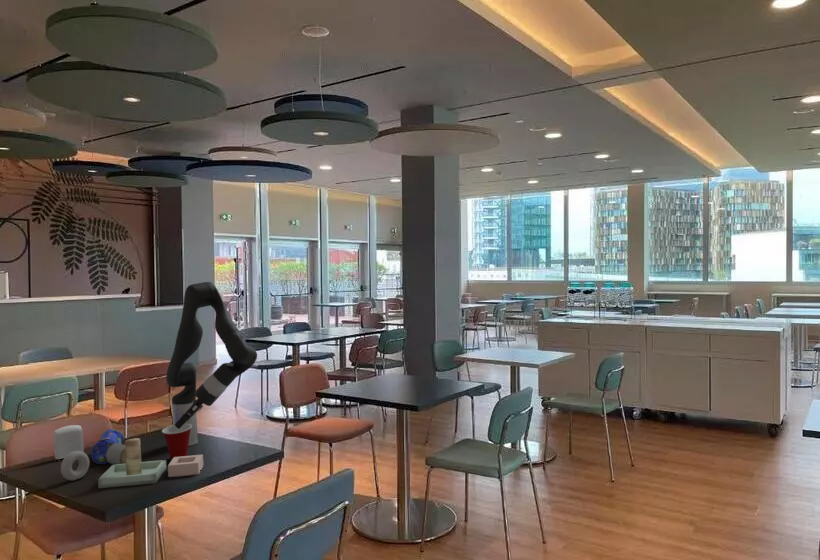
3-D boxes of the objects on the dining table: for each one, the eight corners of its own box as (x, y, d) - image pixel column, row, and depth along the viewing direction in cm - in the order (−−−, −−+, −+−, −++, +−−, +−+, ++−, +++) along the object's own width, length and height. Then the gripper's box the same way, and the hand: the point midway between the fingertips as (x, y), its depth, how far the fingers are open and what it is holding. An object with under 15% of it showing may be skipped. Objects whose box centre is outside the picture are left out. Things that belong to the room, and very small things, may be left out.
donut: (85, 474, 217) (84, 446, 217) (92, 475, 216) (90, 447, 215) (59, 484, 208) (57, 454, 208) (65, 485, 207) (64, 455, 206)
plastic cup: (156, 461, 230) (155, 429, 229) (179, 453, 239) (178, 422, 239) (177, 464, 225) (175, 432, 224) (199, 456, 234) (198, 424, 234)
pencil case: (115, 464, 229) (114, 438, 229) (90, 467, 226) (89, 441, 226) (124, 448, 250) (123, 425, 250) (101, 451, 247) (100, 427, 247)
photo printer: (56, 461, 235) (55, 429, 235) (53, 459, 238) (51, 428, 238) (85, 455, 242) (83, 424, 242) (81, 453, 245) (80, 422, 245)
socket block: (174, 468, 220) (174, 457, 220) (203, 465, 222) (202, 454, 222) (168, 477, 210) (167, 465, 210) (198, 474, 212) (198, 462, 212)
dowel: (128, 473, 213) (127, 439, 213) (143, 471, 214) (141, 437, 214) (124, 477, 209) (123, 442, 208) (139, 476, 209) (138, 441, 209)
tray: (113, 472, 218) (112, 464, 218) (166, 468, 221) (166, 459, 221) (98, 488, 202) (98, 479, 202) (155, 482, 205) (155, 473, 205)
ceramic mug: (120, 468, 222) (120, 447, 222) (105, 466, 226) (105, 445, 226) (145, 460, 232) (144, 440, 232) (130, 458, 235) (129, 438, 235)
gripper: (206, 378, 224) (175, 412, 222) (200, 386, 210) (166, 422, 208) (222, 392, 225) (191, 425, 223) (216, 400, 211) (183, 436, 209)
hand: (179, 423), depth 215 cm, fingers open, 8 cm apart
